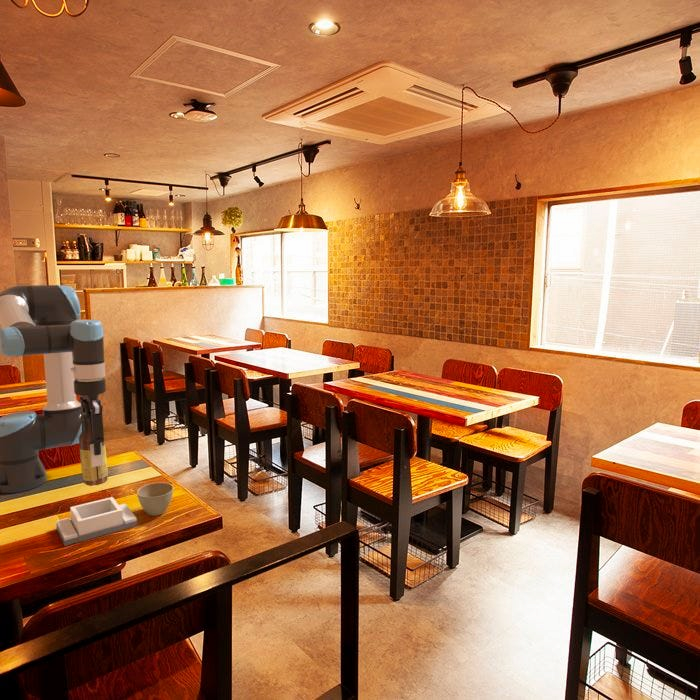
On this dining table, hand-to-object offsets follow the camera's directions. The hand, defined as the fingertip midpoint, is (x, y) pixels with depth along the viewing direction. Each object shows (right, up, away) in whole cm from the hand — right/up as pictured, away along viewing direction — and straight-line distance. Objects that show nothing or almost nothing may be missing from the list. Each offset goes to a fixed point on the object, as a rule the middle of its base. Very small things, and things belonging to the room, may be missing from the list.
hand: (94, 461), depth 139 cm
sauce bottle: (0, -6, +1) cm, 6 cm away
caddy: (-1, -19, +3) cm, 19 cm away
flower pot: (+12, -18, +13) cm, 25 cm away
